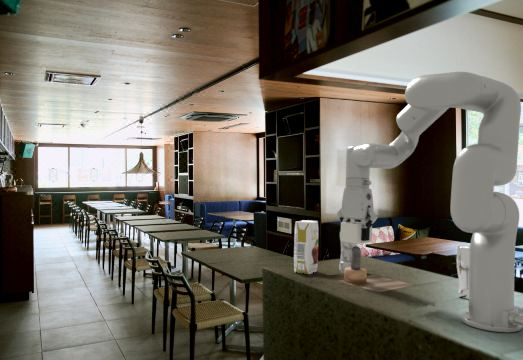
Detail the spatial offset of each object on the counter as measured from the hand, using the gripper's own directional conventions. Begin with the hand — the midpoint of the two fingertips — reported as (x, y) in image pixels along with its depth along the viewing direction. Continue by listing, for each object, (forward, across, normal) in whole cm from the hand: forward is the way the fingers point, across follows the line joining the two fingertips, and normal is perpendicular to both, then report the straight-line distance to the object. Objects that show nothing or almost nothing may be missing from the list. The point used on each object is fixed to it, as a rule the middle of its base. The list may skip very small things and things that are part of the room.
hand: (355, 238), depth 139 cm
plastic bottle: (+16, +14, -12) cm, 25 cm away
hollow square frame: (+1, 0, 0) cm, 1 cm away
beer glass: (+15, -28, -18) cm, 37 cm away
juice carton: (+16, +25, -2) cm, 30 cm away
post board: (+15, -5, -4) cm, 17 cm away
